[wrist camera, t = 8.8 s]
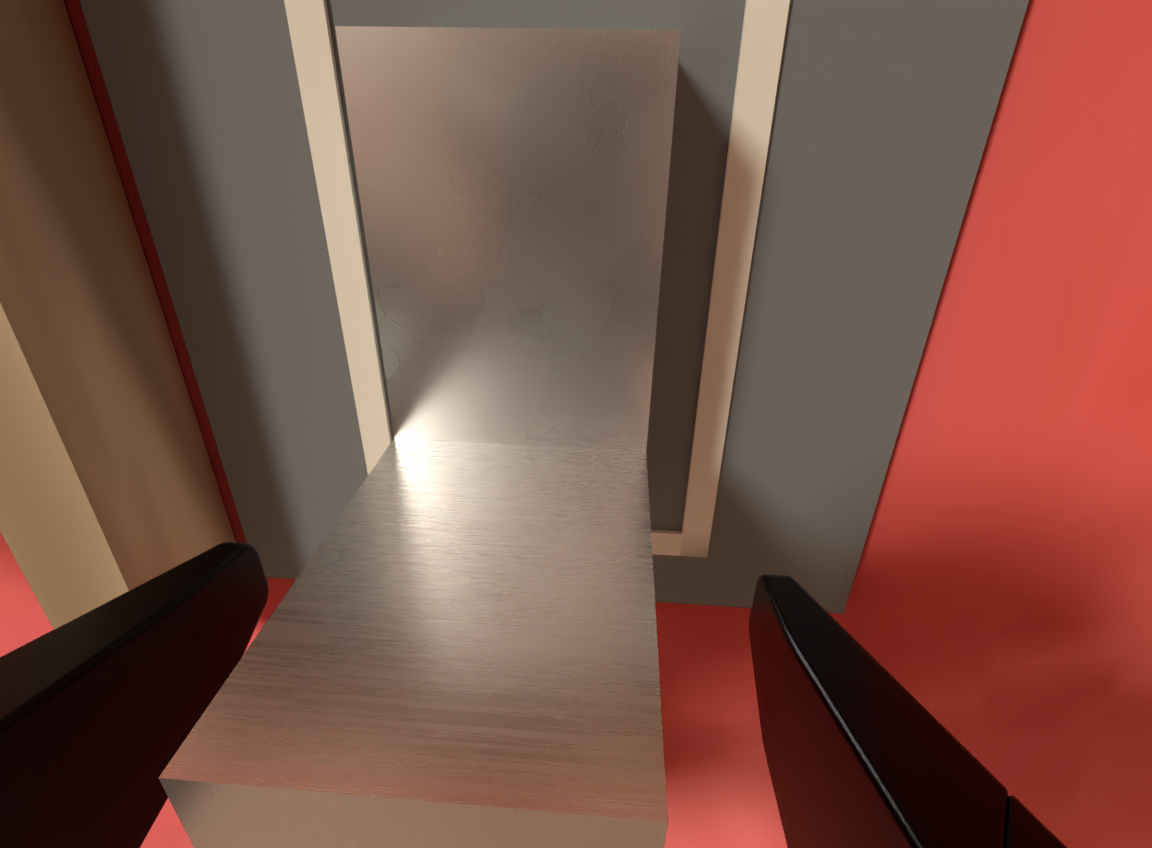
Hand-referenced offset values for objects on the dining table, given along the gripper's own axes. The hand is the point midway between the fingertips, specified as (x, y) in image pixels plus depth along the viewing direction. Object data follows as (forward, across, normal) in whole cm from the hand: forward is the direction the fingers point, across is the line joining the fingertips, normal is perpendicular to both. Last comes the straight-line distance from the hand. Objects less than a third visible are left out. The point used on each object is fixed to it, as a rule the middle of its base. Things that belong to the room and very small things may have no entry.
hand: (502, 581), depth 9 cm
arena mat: (+4, 0, -3) cm, 5 cm away
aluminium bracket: (+4, 0, -3) cm, 5 cm away
